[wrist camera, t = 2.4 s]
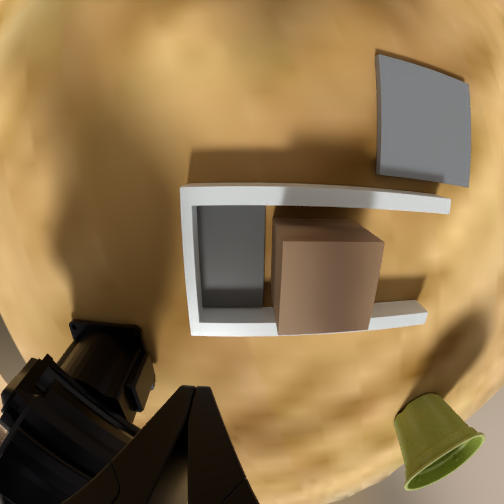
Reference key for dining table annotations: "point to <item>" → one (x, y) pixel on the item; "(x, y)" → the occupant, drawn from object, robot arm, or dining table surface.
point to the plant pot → (433, 440)
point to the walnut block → (323, 275)
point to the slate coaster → (422, 123)
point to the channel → (252, 250)
